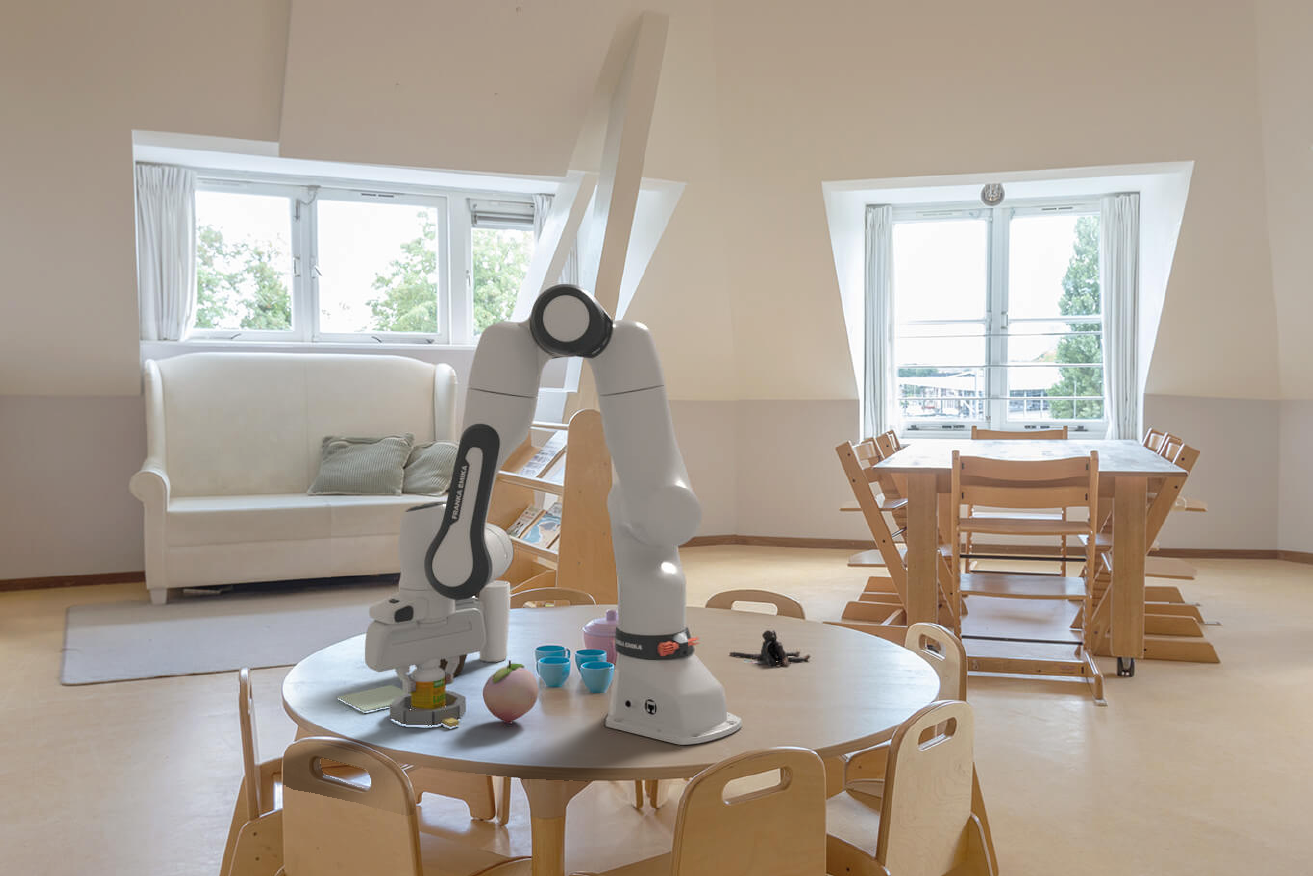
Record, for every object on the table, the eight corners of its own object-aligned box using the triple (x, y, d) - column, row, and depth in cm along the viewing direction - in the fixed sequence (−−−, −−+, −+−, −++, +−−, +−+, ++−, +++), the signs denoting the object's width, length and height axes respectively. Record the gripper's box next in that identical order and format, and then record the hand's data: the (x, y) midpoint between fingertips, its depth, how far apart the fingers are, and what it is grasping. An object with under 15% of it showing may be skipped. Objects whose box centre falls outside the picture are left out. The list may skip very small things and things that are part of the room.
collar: (485, 720, 158) (484, 704, 157) (422, 736, 150) (422, 720, 150) (433, 698, 169) (433, 683, 169) (373, 712, 161) (373, 697, 161)
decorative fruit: (528, 734, 151) (528, 670, 150) (477, 731, 152) (476, 667, 152) (545, 715, 160) (545, 654, 160) (497, 712, 161) (496, 651, 161)
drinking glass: (514, 655, 197) (513, 580, 196) (506, 664, 190) (505, 587, 190) (481, 654, 198) (480, 579, 197) (471, 663, 191) (470, 586, 190)
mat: (419, 701, 167) (419, 697, 167) (364, 714, 161) (364, 710, 161) (391, 688, 175) (391, 685, 175) (337, 700, 168) (337, 696, 168)
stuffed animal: (816, 661, 189) (766, 627, 187) (787, 704, 189) (737, 670, 187) (799, 644, 201) (752, 613, 199) (772, 685, 200) (724, 653, 199)
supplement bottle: (437, 723, 156) (436, 662, 156) (405, 720, 157) (404, 660, 157) (450, 712, 162) (450, 653, 161) (420, 710, 163) (419, 651, 162)
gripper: (472, 591, 168) (472, 671, 169) (359, 609, 154) (360, 696, 155) (492, 596, 163) (493, 679, 164) (378, 615, 150) (379, 706, 150)
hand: (428, 688), depth 159 cm, fingers closed on supplement bottle, 5 cm apart
